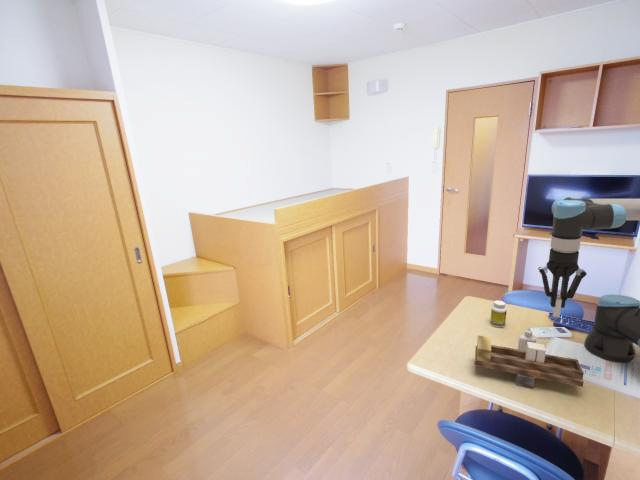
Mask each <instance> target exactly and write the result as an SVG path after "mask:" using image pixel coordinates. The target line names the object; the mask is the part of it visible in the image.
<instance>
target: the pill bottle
mask: <svg viewBox="0 0 640 480" xmlns="http://www.w3.org/2000/svg"><path fill="white" fill-rule="evenodd" d="M490 309H491V310H490V320H489V321H490V324H491V325H492V326H493V327H495V328H496V327H498V328H503V327H505V325H506V320H507V310H508V309H507V308H506V301H503V300H497V299H496V300H494V301H493V305H492V306H491V308H490Z"/></svg>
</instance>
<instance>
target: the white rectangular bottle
mask: <svg viewBox="0 0 640 480" xmlns="http://www.w3.org/2000/svg"><path fill="white" fill-rule="evenodd" d="M527 342H532V343H537V338H535V336H533V331H532V330H531V328H530V327H527V329H525V330H524V334H521V335H519V338H518V345H517V349H518V350H524V351H526V347H527Z"/></svg>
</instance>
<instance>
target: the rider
mask: <svg viewBox="0 0 640 480" xmlns="http://www.w3.org/2000/svg"><path fill="white" fill-rule="evenodd" d="M546 352H547V350H546V348H545V344H542V343H537V342H536V343H532V342H527V347H526V355H525V360H527V361H532V362H539V363H543V364H544V360H545V354H546Z"/></svg>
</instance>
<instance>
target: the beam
mask: <svg viewBox="0 0 640 480" xmlns="http://www.w3.org/2000/svg"><path fill="white" fill-rule="evenodd" d="M476 339H477V340H476V341H477V342H476V345H475V350H474V352H475V353H474V358H475V359H474V366H476V367H480V368H486V369H491V370H495V371H496V370H497V371H501V372H506V373H511V374H514V376H515V384H516V386H518V387H523V388H527V389H532V390H534V387H535V380H536V379H542V380H547V381H552V382H556V383H560V384H567V385H571V386H576V387H581V388H583V387H584V375H585V374H584V371H583V369H582V366H581V365H580V361H579V359H576V358H569V357H563V356H557V355H553V354H546V353H545V360H544V364H543V363H539V362H532V361H527V360H525V355H526V351H524V350H518V348H511V347H508V346H507V347H506V346H499V345H495V344H492V340H491V339H492V337H489V336H485V335H484V336H483V335H477V338H476Z"/></svg>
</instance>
